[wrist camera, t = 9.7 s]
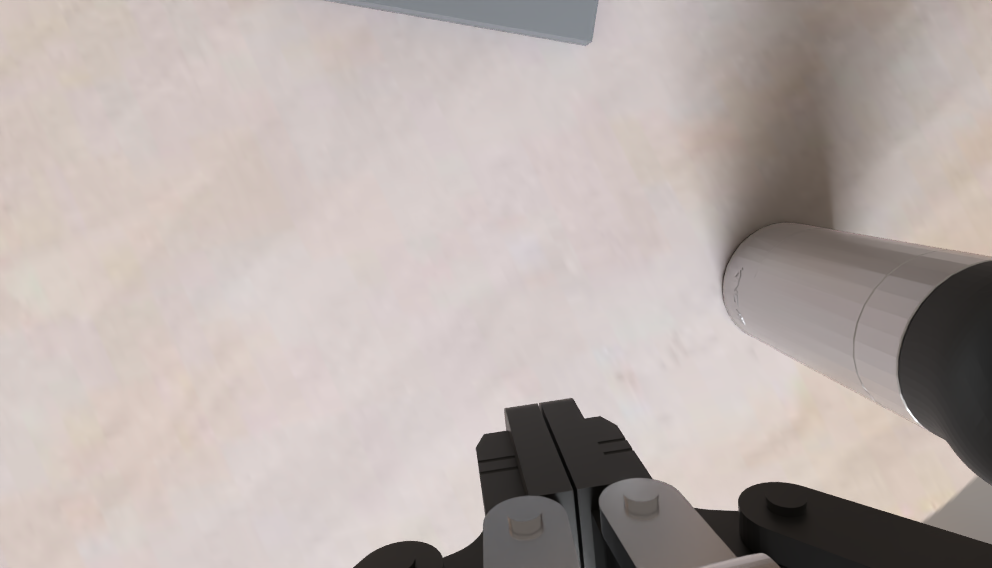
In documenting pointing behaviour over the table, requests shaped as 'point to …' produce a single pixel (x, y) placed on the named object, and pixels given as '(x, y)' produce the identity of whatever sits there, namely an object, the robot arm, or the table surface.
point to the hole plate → (503, 15)
